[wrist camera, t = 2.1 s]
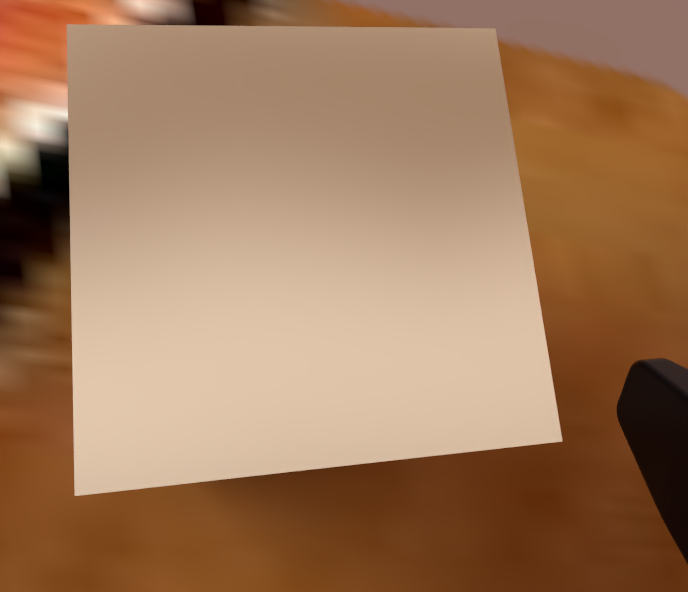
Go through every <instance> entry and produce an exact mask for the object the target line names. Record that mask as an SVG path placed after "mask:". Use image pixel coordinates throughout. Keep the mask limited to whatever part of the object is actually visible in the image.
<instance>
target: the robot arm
mask: <svg viewBox="0 0 688 592" xmlns="http://www.w3.org/2000/svg"><path fill="white" fill-rule="evenodd" d="M617 417H618V421H619V424H620V426H621V428H622V430H623V433H624V435H625V437H626V439H627V442H628V444H629V446H630V448H631V451H632V453H633V455H634V457H635V460H636V462H637V464H638V466H639V469H640V471H641V473H642V475H643V478H644V480H645V482H646V484H647V487H648V489H649V491H650V493H651V496H652V498H653V500H654V502H655V504H656V506H657V509H658V511H659V513H660V515H661V517H662V519H663V521H664V523H665V525H666V526H667V528H668V530H669V532H670V534H671V536H672V537H673V539H674V541H675V543H676V544H677V546H678V548H679V550H680V551H681V553H682V555H683V557H684V558H685V560H686V562H687V564H688V369H686V368H684V367H682V366H680V365H678V364H676V363H674V362H672V361H670V360H667V359H663V358H657V359H646V360H639V361H636V362H635V363H634V364H633V365H632V366H631V368H630V370H629V373H628V375H627V378H626V381H625V384H624V387H623V389H622V392H621V395H620V398H619V400H618V404H617Z"/></svg>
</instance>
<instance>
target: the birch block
mask: <svg viewBox="0 0 688 592" xmlns="http://www.w3.org/2000/svg"><path fill="white" fill-rule="evenodd" d="M67 65H68V124H69V184H70V243H71V302H72V361H73V420H74V479H75V496H79V495H88V494H97V493H106V492H115V491H124V490H133V489H142V488H151V487H159V486H168V485H177V484H186V483H195V482H204V481H213V480H222V479H231V478H240V477H249V476H258V475H267V474H276V473H285V472H294V471H303V470H312V469H321V468H330V467H339V466H347V465H356V464H365V463H374V462H383V461H392V460H401V459H410V458H419V457H428V456H437V455H446V454H455V453H464V452H473V451H482V450H491V449H500V448H509V447H518V446H527V445H535V444H544V443H553V442H562V435H561V429H560V423H559V417H558V411H557V405H556V398H555V392H554V386H553V380H552V374H551V368H550V362H549V355H548V349H547V343H546V337H545V331H544V325H543V319H542V312H541V306H540V300H539V294H538V288H537V282H536V276H535V269H534V263H533V257H532V251H531V245H530V239H529V233H528V226H527V220H526V214H525V208H524V202H523V196H522V190H521V183H520V177H519V171H518V165H517V159H516V153H515V147H514V140H513V134H512V128H511V122H510V116H509V110H508V104H507V97H506V91H505V85H504V79H503V73H502V67H501V61H500V54H499V48H498V42H497V36H496V30H495V28H396V27H287V26H177V25H67Z"/></svg>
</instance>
